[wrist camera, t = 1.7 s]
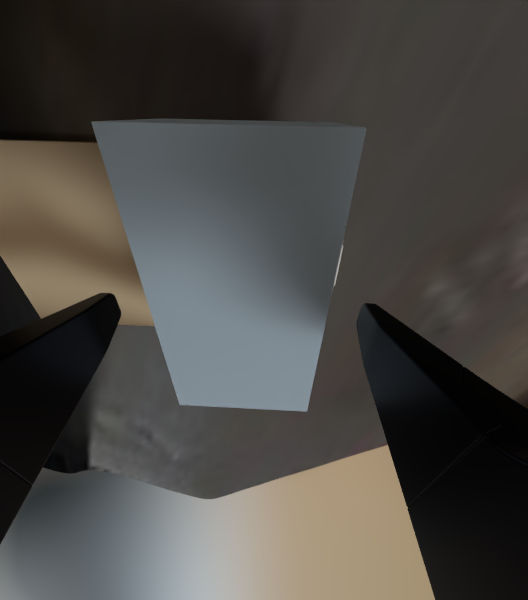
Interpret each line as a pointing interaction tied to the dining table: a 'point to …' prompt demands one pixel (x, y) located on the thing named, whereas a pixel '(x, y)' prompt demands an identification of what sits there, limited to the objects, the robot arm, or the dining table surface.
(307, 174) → the light blue block
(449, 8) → the dining table surface
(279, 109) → the dining table surface
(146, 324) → the mat
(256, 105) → the dining table surface
